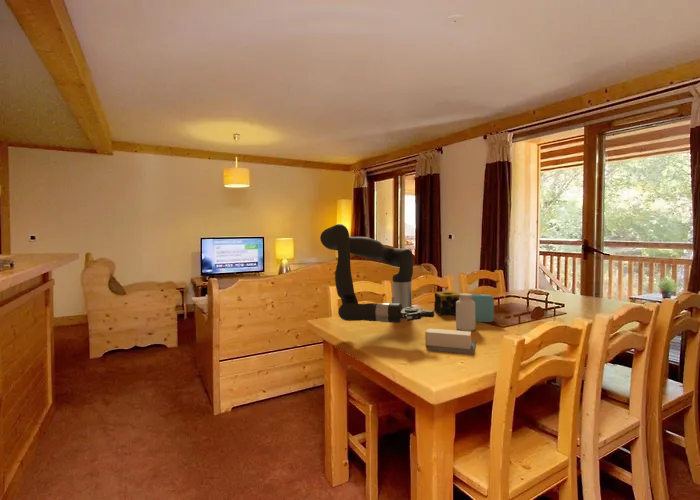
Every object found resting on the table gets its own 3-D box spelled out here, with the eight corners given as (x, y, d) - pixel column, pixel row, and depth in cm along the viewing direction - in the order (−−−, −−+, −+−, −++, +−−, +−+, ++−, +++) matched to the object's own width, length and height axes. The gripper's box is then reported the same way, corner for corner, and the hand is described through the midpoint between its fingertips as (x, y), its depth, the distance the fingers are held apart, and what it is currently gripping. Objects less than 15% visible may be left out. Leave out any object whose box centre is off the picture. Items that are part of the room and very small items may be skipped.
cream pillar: (425, 331, 143) (470, 335, 137) (427, 328, 148) (471, 331, 142) (425, 345, 144) (470, 349, 138) (427, 341, 148) (471, 344, 143)
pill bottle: (476, 327, 167) (476, 293, 166) (474, 332, 159) (474, 296, 158) (457, 325, 170) (457, 292, 169) (454, 330, 163) (454, 295, 162)
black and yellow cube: (433, 310, 198) (433, 291, 198) (453, 310, 199) (452, 291, 199) (440, 315, 188) (440, 295, 188) (460, 314, 189) (460, 294, 188)
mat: (427, 350, 139) (427, 349, 139) (433, 338, 152) (433, 337, 152) (474, 354, 133) (474, 353, 133) (475, 342, 146) (475, 341, 146)
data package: (491, 319, 178) (491, 294, 177) (493, 322, 174) (494, 296, 173) (465, 319, 180) (465, 294, 179) (466, 321, 176) (466, 296, 175)
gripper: (392, 317, 157) (435, 318, 152) (385, 327, 145) (432, 329, 139) (391, 299, 156) (435, 300, 151) (384, 307, 144) (431, 308, 139)
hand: (433, 314), depth 145 cm, fingers closed
